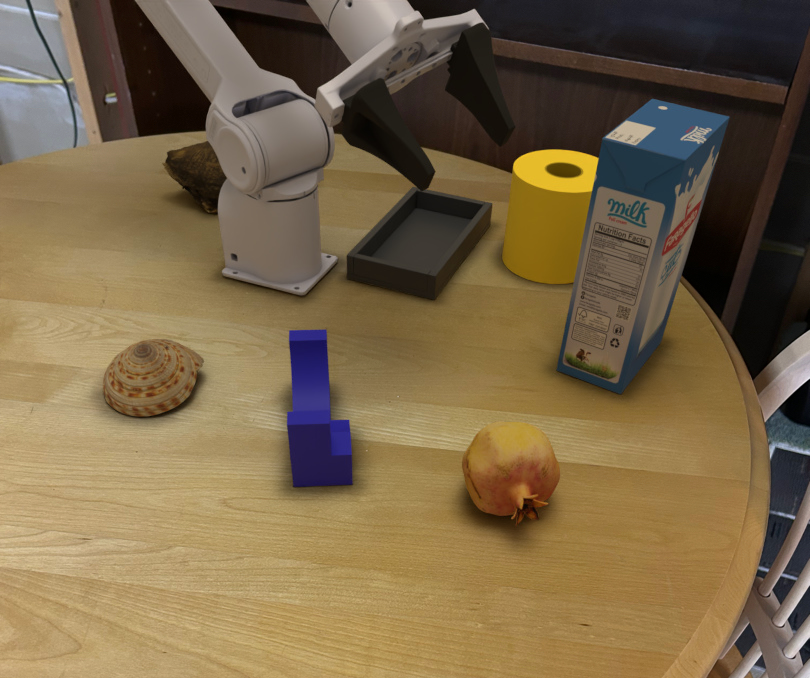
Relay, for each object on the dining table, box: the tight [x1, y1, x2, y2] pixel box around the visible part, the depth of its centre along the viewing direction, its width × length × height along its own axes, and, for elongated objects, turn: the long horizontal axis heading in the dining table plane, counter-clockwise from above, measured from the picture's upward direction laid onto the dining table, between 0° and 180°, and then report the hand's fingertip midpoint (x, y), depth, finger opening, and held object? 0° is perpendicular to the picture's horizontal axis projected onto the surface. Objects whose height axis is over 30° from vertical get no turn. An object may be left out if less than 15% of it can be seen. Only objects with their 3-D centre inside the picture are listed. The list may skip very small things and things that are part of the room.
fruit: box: [461, 421, 561, 527], centre depth 58 cm, size 7×7×10 cm
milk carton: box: [555, 98, 731, 395], centre depth 67 cm, size 10×6×20 cm, turn 147°
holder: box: [346, 186, 493, 301], centre depth 86 cm, size 10×18×3 cm, turn 157°
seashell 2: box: [161, 140, 227, 214], centre depth 92 cm, size 16×9×7 cm, turn 111°
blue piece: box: [286, 329, 354, 488], centre depth 63 cm, size 12×4×6 cm, turn 5°
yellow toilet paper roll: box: [501, 149, 599, 285], centre depth 82 cm, size 10×10×9 cm
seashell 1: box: [102, 338, 205, 417], centre depth 68 cm, size 8×6×8 cm
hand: (468, 159), depth 59 cm, fingers open, 7 cm apart
